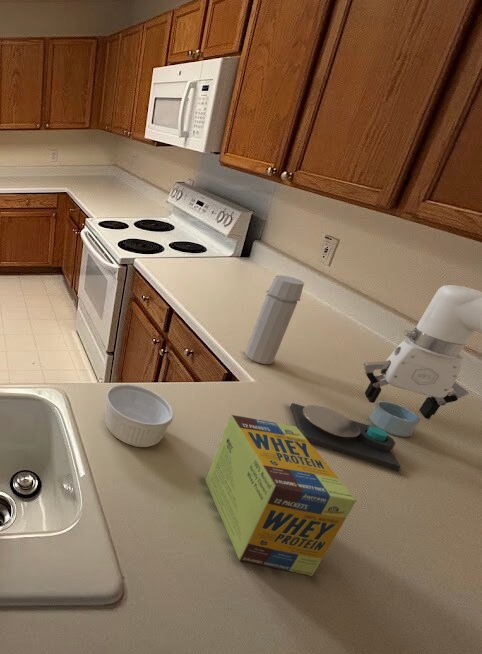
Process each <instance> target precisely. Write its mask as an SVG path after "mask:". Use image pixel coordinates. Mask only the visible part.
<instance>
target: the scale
mask: <svg viewBox="0 0 482 654" xmlns="http://www.w3.org/2000/svg"><path fill="white" fill-rule="evenodd" d="M305 406H306V405H305ZM305 406H304V405H301V404H298V403H294V402H291V404H290V406H289V408H290V409H289V410H290V411H291V414H292V417H293V420H294V423H295V426H296V427H297V428H298V429H299V430H300V432H301V433H302V434H303V435H304V437H305V438H306V439H307V440H308V441H309V443H310V444H311V445H314V446H317V447H320V448H323V449H325V450H330V451H333V452H336V453H339V454H342V455H345V456H347V457H352V458H353V459H358V460H360V461H364V462H367V463H370V464H373V465H376V466H380V467H382V468H385V469H389V470H392V471H395V472H399V470H400V468H401V465H400V463H399V462H398V460H397V458H396V457H395V455H394V453H393V452H392V450H393V449H394V447H395V445H396V441H395V440H394V438H392V437H391V436H390V434H388V436H387V438H386V440H385V441H384V442H382V441H379V440H376V439H374V438H372V437H370V436H369V435H368V434H367V431H368V429H369V427H370V426H371V425H369V424H367V423H362V422H358V421H356V420H352V419H350V420H351V421H353V422H354V423H355V424H356V425H357V426H358V427H359V429H360V435H359V436H358V437H355V438H346V437H341V436H337V435H334V434H331V433H329V432H327V431H324V430H322V429H320V428H319V427H317V426H315V425H314V424H312V423H311V422H310V421H309V420H308V419H307V418H306V417H305V416H304V414H303V408H304V407H305Z"/></svg>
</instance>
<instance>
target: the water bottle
mask: <svg viewBox="0 0 482 654" xmlns="http://www.w3.org/2000/svg"><path fill="white" fill-rule="evenodd" d="M304 286H305V282H304V281H303V280H301V279H299V278H296V277H292V276H289V275H288V276H287V275H279V274H278V275H275V276H274V278H273V281H272V282H271V284H270V287H269V288H268V290H265V293H266V295H265V298H264V300H263V303H262V306H261V309H260V312H259V314H258V317H257V320H256V322H255V325H254V327H253V330H252V333H251V335H250V338H249V341H248V343H247V346H246V349H245V351H244V353H245V356H246V358H248V359H249V360H250V361H252V362H255V363H257V364H262V365H270V364H273V363H274V361H275V357H276V356H277V353H278V351H279V349H280V346H281V344H282V342H283V338H284V336H285V334H286V331H287V329H288V327H289V324H290V321H291V319H292V317H293V315H294V312H295V310H296V307H297V305H298V302H300V301H301V297H302V292H303V289H304Z"/></svg>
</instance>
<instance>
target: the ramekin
mask: <svg viewBox="0 0 482 654" xmlns="http://www.w3.org/2000/svg"><path fill="white" fill-rule="evenodd" d="M104 401H105V408H104V421H105V425H106V428H108V430H109V432H110V433H111V434H112V435H113V436H114V437H115V438H116V439H118V440H119V441H121V442H122V443H124V444H127V445H128V446H129V445H130V446H133V447H136V448H149V447H153V446H155V445H157V444H159V443H160V442H161V440H162V439H163V438H164V436H165V434H166V432H167V430H168V428H169V427H170V425H171V424H172V423H173V422H172V421H173V419H174V411H173V407H172V405H171V404H170V403H169V402H168V401H167V400H166V399H165V398H164V397H163V396H161V395H160V394H158V393H157V392H155V391H153V390H152V389H149V388H146V387H144V386H140V385H136V384H130V383H121V384H116V385H113V386H112V387H110V388H108V390H107V392H106V395H105V400H104Z"/></svg>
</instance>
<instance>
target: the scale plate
mask: <svg viewBox="0 0 482 654" xmlns="http://www.w3.org/2000/svg"><path fill="white" fill-rule="evenodd" d="M303 414H304V416H305V417H306V418H307V419H308V420H309V421H310V422H311V423H312V424H314V425H315V426H317V427H319V428H320V429H322V430H324V431H327V432H329V433H331V434H334V435H337V436H341V437H346V438H355V437H358V436H359V435H360V429H359V427H358V426H357V425H356V424H355V423H354V422H353V421H354V420H352V419H351V418H349V417H347V416H345V415H344V414H342V413H340V412H338V411H336V410H333V409H330V408H327V407H325V406H320V405H313V404H312V405H311V404H310V405H305V407H304V408H303ZM351 420H352V421H351Z"/></svg>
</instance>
